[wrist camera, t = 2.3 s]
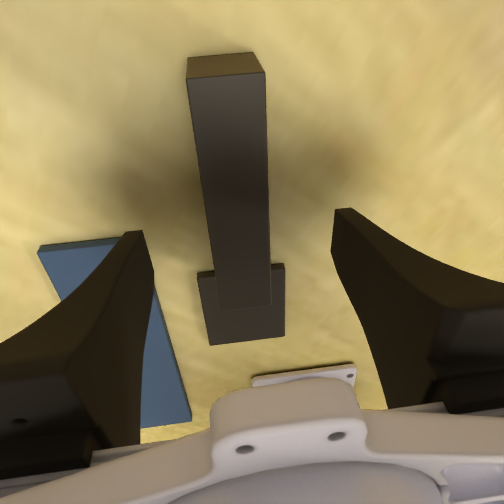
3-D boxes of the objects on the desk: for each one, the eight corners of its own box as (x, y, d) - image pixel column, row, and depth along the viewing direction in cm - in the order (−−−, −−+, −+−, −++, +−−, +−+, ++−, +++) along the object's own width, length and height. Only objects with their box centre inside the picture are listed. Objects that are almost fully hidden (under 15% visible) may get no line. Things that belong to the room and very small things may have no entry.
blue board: (192, 414, 31) (192, 421, 30) (129, 423, 30) (128, 430, 30) (139, 235, 19) (138, 241, 19) (39, 245, 19) (35, 253, 19)
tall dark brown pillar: (283, 330, 25) (293, 371, 23) (209, 340, 25) (210, 382, 23) (284, 49, 15) (301, 68, 12) (156, 59, 15) (147, 81, 12)
